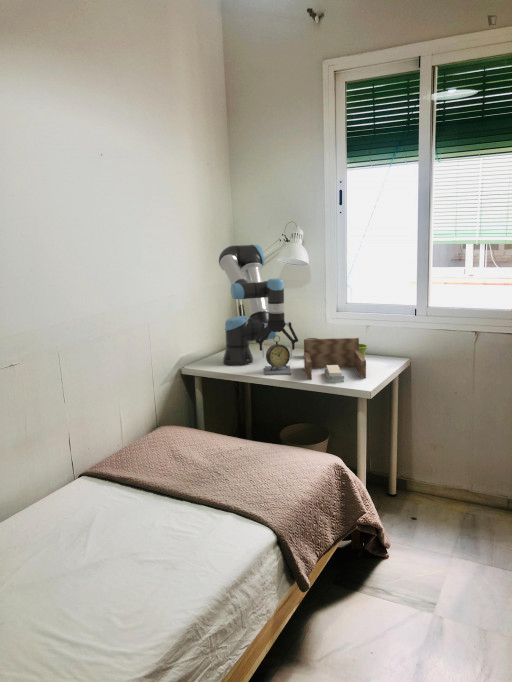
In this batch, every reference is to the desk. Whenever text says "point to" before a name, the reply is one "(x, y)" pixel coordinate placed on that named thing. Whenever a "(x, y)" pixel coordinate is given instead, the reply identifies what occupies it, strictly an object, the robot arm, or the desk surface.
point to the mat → (277, 370)
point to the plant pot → (362, 349)
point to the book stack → (333, 373)
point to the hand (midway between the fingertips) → (277, 356)
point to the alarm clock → (277, 355)
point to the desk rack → (333, 354)
